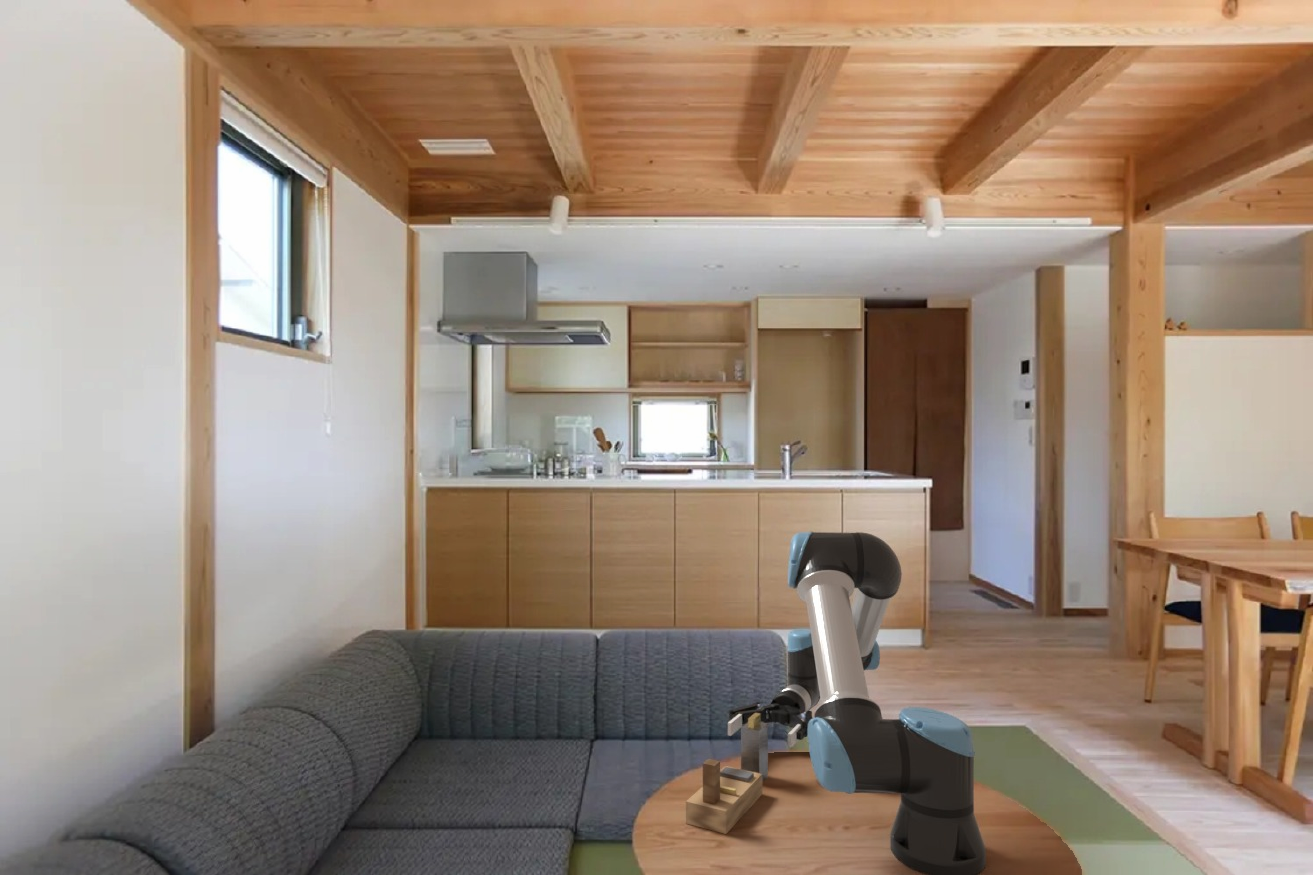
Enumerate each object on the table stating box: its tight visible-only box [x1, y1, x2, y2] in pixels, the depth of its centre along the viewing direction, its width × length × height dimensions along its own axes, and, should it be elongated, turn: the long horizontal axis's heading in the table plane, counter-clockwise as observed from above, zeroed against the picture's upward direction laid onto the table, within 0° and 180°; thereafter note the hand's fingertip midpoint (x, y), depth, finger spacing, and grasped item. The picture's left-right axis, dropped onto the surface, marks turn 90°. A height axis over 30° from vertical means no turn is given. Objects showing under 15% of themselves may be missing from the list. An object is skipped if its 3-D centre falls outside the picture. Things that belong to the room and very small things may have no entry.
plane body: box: [685, 758, 763, 835], centre depth 145 cm, size 8×18×11 cm, turn 151°
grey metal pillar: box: [740, 713, 769, 783], centre depth 158 cm, size 4×5×13 cm
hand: (758, 734), depth 161 cm, fingers open, 13 cm apart
